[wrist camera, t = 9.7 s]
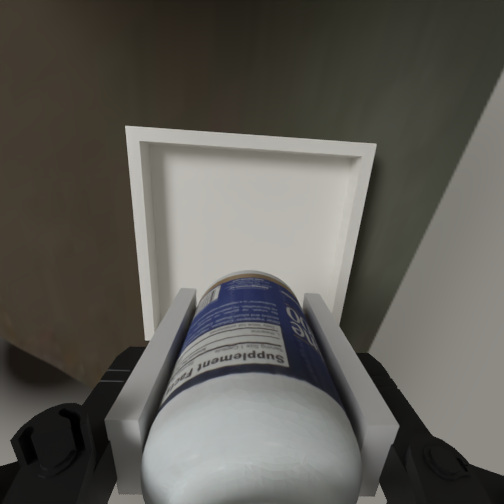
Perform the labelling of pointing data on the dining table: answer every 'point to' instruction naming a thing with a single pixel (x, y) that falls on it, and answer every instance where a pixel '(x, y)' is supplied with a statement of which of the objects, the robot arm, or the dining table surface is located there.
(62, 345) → the dining table surface
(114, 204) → the dining table surface
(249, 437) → the pill bottle
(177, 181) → the tray
